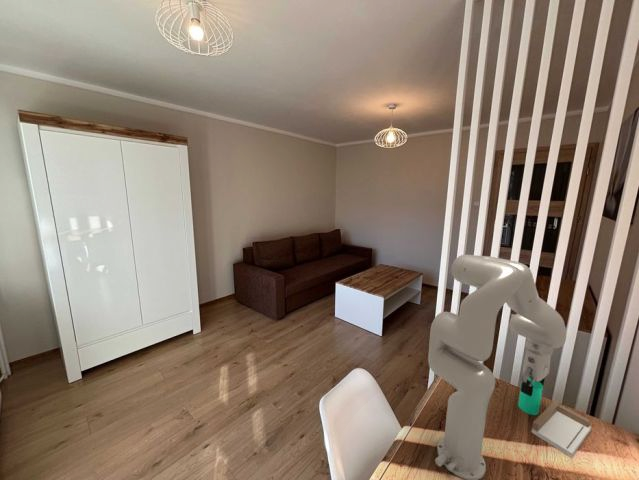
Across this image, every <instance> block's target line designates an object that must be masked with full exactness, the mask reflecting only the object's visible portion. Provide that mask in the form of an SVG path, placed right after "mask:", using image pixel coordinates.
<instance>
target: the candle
mask: <svg viewBox="0 0 639 480" xmlns="http://www.w3.org/2000/svg"><path fill="white" fill-rule="evenodd" d="M528 380H529V381H530V382H531V379H530V378H528ZM521 385H522V382H521V384H520V386H521ZM532 386H533V392H532V396H528V395H527V394H525V393H523V392H521V388H519V389H520V390H519V396H518V403H517V406H518V408H519V409H520V410H521V411H523V412H524V413H526V414H528V415H532V416H537V415H539V413H540V406H541V401H542V395H543V389H544V385H543V386H542V384H541V383H540V382H537V381H536V380H534V382H533V385H532Z"/></svg>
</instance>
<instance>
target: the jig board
mask: <svg viewBox="0 0 639 480" xmlns="http://www.w3.org/2000/svg"><path fill="white" fill-rule="evenodd" d="M591 431H592V425H591V420H590V419H588V418H586V417H584V416H583V415H581V414H579V413H577V412H575V411H574V410H571V409H569V408H567V407H565V406H564V405H561V403H560V402H559V401H556V400H553V401H552V402H551V403H550V404H549V405H548V406H547V407H546V408H545V410H543V412H541V413H540V414H539V416H537V417H536V418H535V419H534V420H533V422H532V426H531V433H532V434H534V435H535V436H536V437H538V438H540V439H541V440H543V441H545V442H546V443H547V444H549V445H550V446H552V447H553V448H556V449H557V450H558V451H560V452H562V453H563V454H564V455H566V456H568V457H569V458H573V456H574V455H575V454H576V452H577V451H578V449H579V448H580V446H581V445H582V444H583V442H584V441H585V440H586V438H587V437H588V435H589V434H590V433H591Z"/></svg>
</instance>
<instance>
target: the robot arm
mask: <svg viewBox="0 0 639 480" xmlns="http://www.w3.org/2000/svg"><path fill="white" fill-rule="evenodd" d="M450 270H451V275H452V277H453V278H454V280H456V281H457V282H459V283H461V284H464V285H466V286H467V285H468V286H471V287H473V288H477V289H475V290H474V291H472V292H471V293H469V294H467V296H466V297H465V298H463V299H462V301H461V303H460V306H459V313H458V314H456V313H453V312H450V311H442V312H440V313H438V314H437V315H436V316H435V317H434V319H433V321H432V322H431V326H430V332H429V343H428V356H427V357H428V360H427V361H428V366H429V368H430V370H431V371H432V372H433V373H434V374H436V376H438V377H439V378H441V379H442V380H444V381H445V382H447V383H448V384H450V385H451V386H452V387H454V388H455V389H456V390H457V391H454V392H453V393H451V394H450V395H449V397H448V400H447V409H446V417H445V418H446V420H445V429H444V435H443V436H444V437H442V438H440V439H439V440H438V442H437V447H436V449H437V457H436V458H435V459H434V460H435V461H434V462H435V464H436V466H438V467H439V468H441V467H442V466H444V467H445V468H446V469H447V470H448V471H449V472H451V473H452V474H454V475H455V476H457V477H458V478H461V479H464V480H481V479H482V478H483V477H484V476H485V474H486V466H487V465H486V461H485V459H484V456H483V455H482V447H483V443H484V442H483V441H484V436H485V426H486V420H487V419H486V418H487V412H488V407H489V403H490V400H491V397H492V395H493V392H494V390H495V386H496V378H495V375H494V373H493V371H492V370H490V369H489V368H488V367H487V366H486V365H484V364H483V363H481V362H485V361H487V360H488V359H489V358H491V357H490V356H491V354H492V351H493V347H494V339H495V338H494V337H495V331H496V324H497V323H496V322H497V316H498V314H499V311H500V310H501V309H502V307H503V306H504V305H505V304H506V305H507V307H509V309H510V310H512V311H513V312H514V313H516V314H514V315H513V316H512V317H510V320H509V323H508V324H509V328H510V330H511V331H512V332H514V334H517V335H518V336H521V337H524V338H525V342H524V347H525V348H526V352H525V357H524V361H523V366H522V378H521V383H522V385H521V384H520V389H521V392H523V393H525V394H527V395H528V396H532V392H533V386H532V385H533V382H534V380H536V381H537V382H540V383H541V384H542V386H543V387H544V385H545V384H544V383H545V379H546V377H547V376H548V375H549V374H550V369H551V356H552V355H553V353H554V349H559V348H561V347H563V346H564V345H565V343H566V340H567V328H566V325H565V321H564V319H563V316H561V314H560V313H559V312H558V311H557V310H556V309H555V308H553V307H552V306H551V305H550V304H548V303H547V302H546V301H545V300H543V298H540V297H539V293H538V290H537V286H536V283H535V279H534V276H533V275H534V274H533V273H532V270H531V269H530V267H528V265H526V264H524V263H521V262H519V261H515V260H514V261H513V260H510V259H506V258H505V259H504V258H500V257H494V256H488V255H475V254H474V255H473V254H461V255H458V257H456V258H455V259H454V260H453V262H452V264H451V268H450ZM528 378H530V379H531V382H530V381H529V380H528Z"/></svg>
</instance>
